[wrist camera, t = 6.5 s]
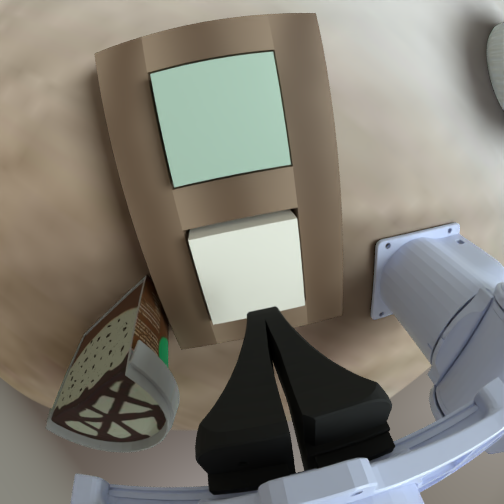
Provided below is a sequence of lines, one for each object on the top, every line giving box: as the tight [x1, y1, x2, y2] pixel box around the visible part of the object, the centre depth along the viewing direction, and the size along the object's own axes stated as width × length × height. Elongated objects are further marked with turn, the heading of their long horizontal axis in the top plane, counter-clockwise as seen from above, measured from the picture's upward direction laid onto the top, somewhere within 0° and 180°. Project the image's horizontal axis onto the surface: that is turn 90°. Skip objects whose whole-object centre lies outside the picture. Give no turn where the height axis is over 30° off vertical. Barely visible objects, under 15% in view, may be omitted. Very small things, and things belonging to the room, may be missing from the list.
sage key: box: [150, 52, 291, 187], centre depth 14 cm, size 6×6×2 cm
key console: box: [95, 13, 343, 350], centre depth 17 cm, size 12×20×3 cm, turn 9°
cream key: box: [188, 209, 305, 325], centre depth 18 cm, size 6×6×2 cm
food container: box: [46, 275, 179, 452], centre depth 18 cm, size 12×6×10 cm, turn 128°
